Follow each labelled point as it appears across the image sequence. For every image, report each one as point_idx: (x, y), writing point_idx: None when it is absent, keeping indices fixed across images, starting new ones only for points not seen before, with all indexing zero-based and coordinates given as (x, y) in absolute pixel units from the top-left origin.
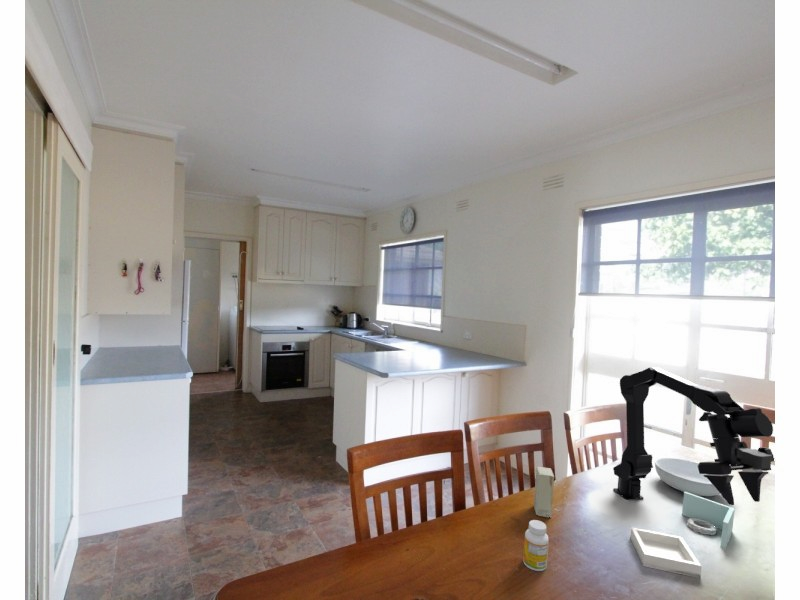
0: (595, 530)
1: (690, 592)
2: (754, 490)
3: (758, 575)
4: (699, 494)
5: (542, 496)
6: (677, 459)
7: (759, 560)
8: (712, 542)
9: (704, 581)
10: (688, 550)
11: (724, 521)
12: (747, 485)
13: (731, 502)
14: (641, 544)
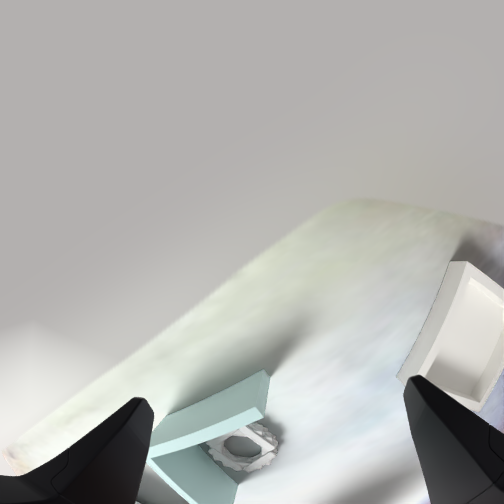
0: (496, 413)
1: (490, 224)
2: (119, 456)
3: (285, 256)
4: (136, 502)
5: None
6: None
7: (210, 311)
8: (274, 396)
9: (448, 251)
10: (448, 326)
11: (256, 417)
12: (128, 498)
13: (428, 385)
14: None
